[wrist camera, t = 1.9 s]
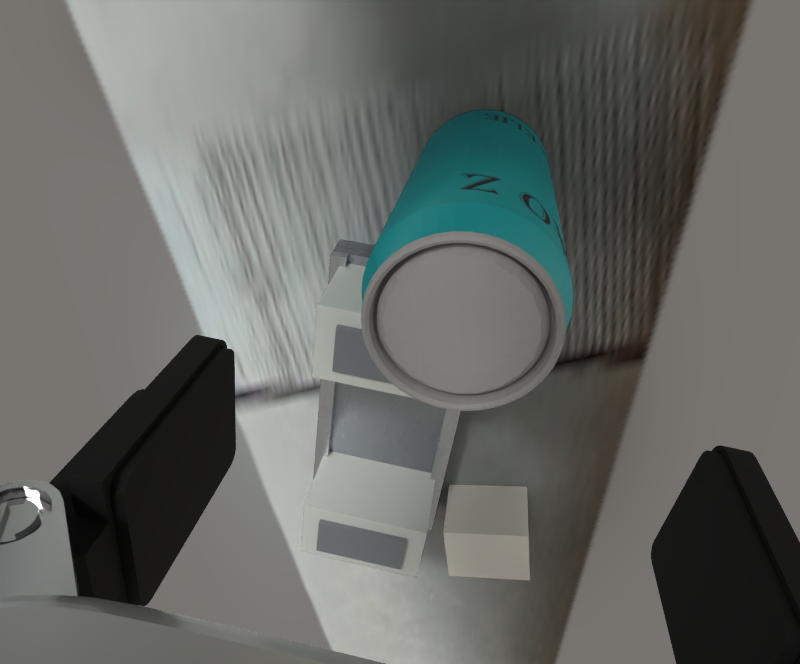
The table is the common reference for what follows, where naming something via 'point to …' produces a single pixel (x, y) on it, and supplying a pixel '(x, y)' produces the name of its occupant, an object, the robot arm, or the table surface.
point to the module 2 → (368, 513)
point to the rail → (382, 415)
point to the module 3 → (487, 532)
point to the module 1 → (345, 335)
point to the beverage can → (470, 270)
